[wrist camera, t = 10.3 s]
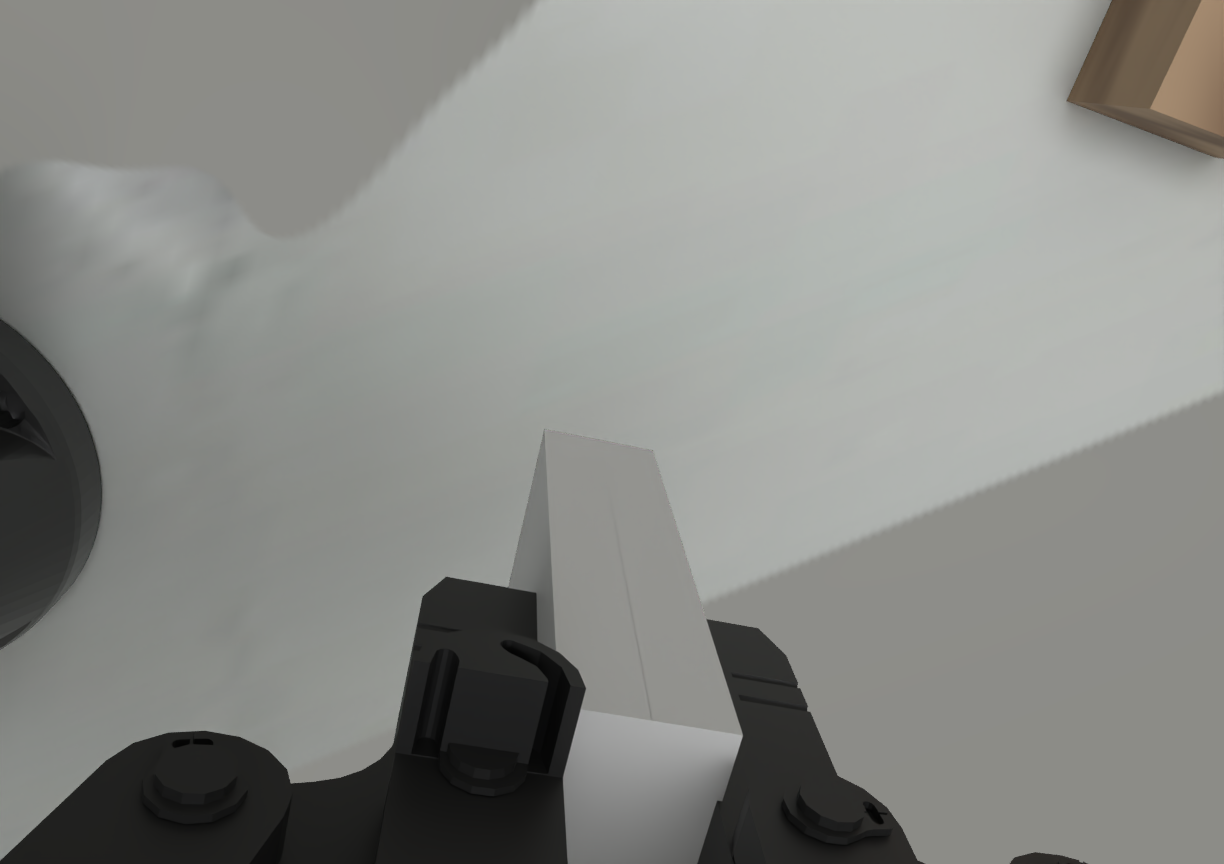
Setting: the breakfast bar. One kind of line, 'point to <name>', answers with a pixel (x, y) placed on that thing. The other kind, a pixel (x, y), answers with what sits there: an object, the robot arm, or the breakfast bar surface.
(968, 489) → the breakfast bar surface
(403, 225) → the breakfast bar surface
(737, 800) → the robot arm
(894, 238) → the breakfast bar surface
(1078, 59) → the breakfast bar surface
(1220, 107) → the walnut block
